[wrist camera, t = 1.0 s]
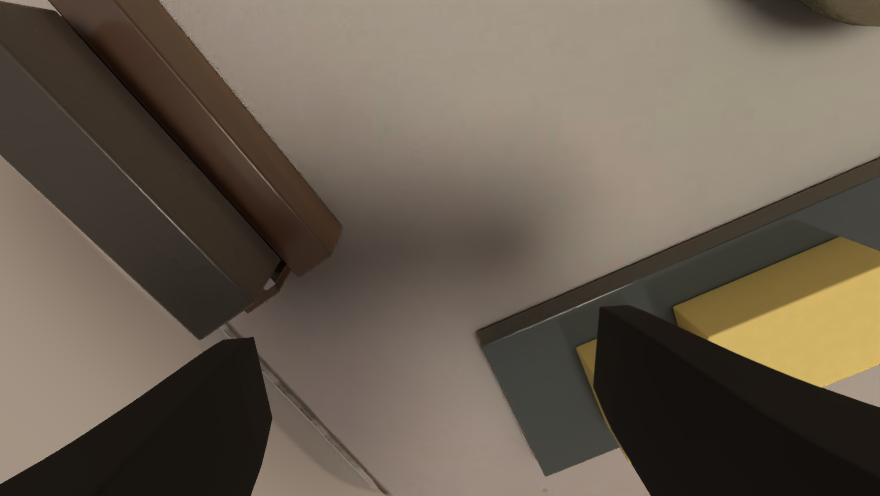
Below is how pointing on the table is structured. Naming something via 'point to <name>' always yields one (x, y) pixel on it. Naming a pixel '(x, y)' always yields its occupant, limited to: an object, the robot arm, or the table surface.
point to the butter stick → (799, 313)
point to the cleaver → (123, 175)
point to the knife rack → (208, 126)
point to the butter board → (656, 308)
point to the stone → (848, 10)
